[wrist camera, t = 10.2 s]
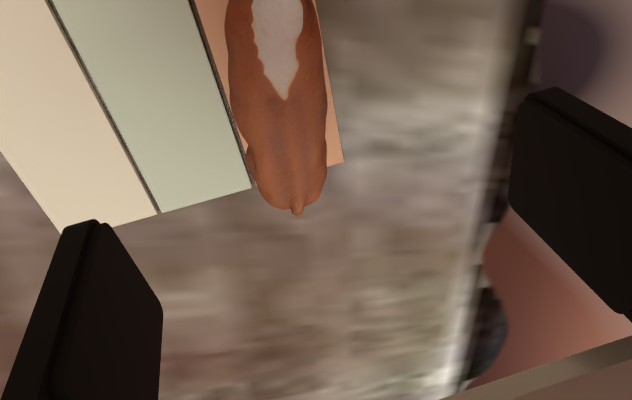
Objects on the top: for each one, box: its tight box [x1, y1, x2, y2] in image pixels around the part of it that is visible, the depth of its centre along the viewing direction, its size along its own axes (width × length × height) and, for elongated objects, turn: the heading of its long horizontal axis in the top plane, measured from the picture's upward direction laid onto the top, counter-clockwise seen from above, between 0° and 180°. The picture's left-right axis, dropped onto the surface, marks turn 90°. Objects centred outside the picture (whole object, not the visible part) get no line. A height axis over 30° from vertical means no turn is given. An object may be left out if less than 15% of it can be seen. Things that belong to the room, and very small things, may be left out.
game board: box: [0, 0, 344, 234], centre depth 22 cm, size 16×18×1 cm
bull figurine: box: [224, 0, 328, 216], centre depth 19 cm, size 4×13×8 cm, turn 178°
